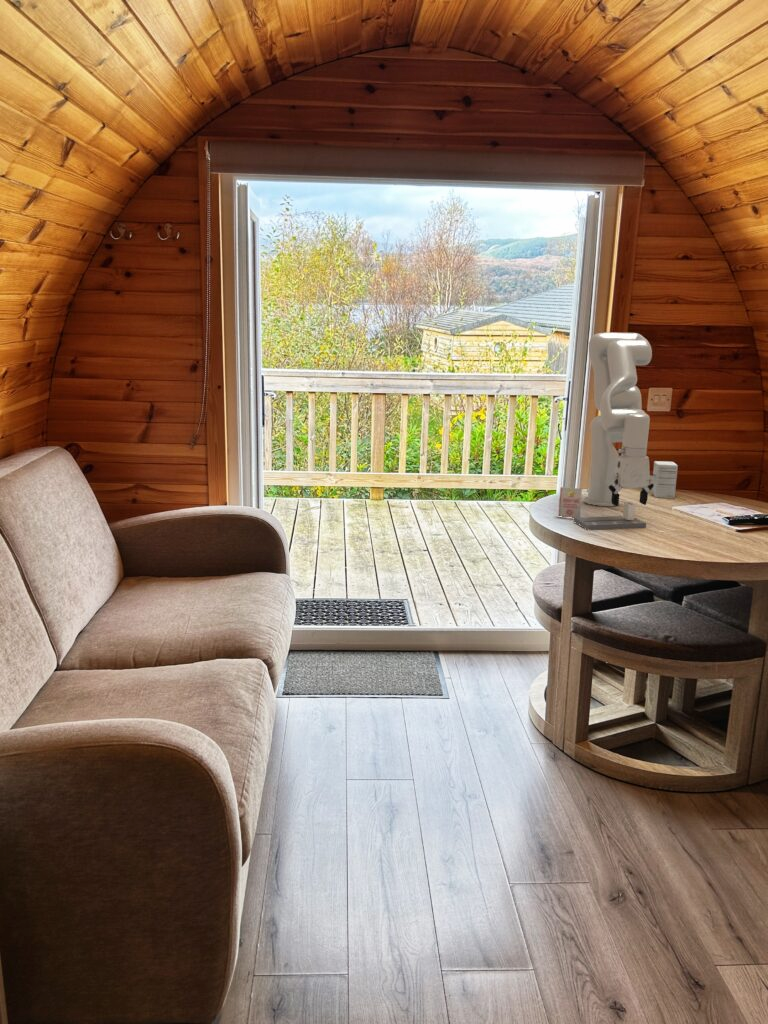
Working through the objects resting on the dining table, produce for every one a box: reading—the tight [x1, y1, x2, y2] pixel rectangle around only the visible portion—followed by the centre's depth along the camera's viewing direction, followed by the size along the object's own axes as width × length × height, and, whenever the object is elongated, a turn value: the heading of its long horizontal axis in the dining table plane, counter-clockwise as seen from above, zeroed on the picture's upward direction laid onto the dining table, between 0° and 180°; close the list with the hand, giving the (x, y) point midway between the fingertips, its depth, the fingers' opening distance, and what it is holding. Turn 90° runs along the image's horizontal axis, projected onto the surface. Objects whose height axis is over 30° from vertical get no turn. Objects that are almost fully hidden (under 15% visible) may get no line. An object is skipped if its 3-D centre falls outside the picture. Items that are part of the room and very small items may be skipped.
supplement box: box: [650, 460, 679, 499], centre depth 301 cm, size 7×7×13 cm
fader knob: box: [622, 501, 637, 520], centre depth 258 cm, size 3×2×5 cm
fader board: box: [573, 515, 647, 530], centre depth 258 cm, size 10×20×2 cm, turn 102°
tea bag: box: [557, 486, 583, 518], centre depth 266 cm, size 4×7×10 cm, turn 73°
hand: (628, 504), depth 258 cm, fingers open, 9 cm apart
